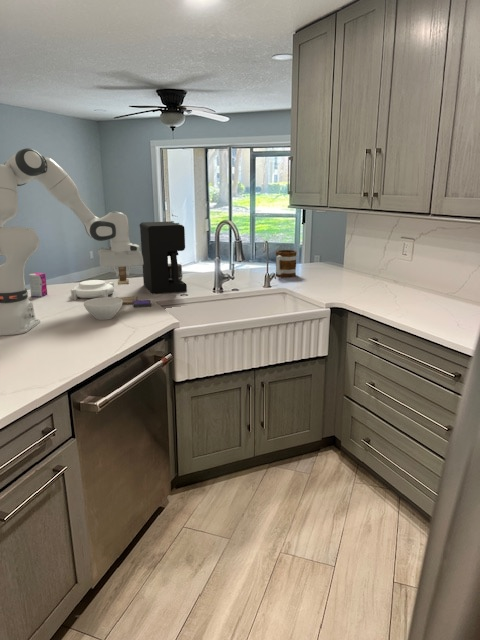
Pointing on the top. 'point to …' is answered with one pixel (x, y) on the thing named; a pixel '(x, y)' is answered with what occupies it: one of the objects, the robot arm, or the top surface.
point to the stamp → (122, 276)
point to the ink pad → (142, 303)
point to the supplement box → (38, 284)
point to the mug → (286, 263)
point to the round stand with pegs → (92, 289)
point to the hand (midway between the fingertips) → (122, 275)
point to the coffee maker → (162, 256)
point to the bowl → (103, 307)
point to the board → (128, 300)
